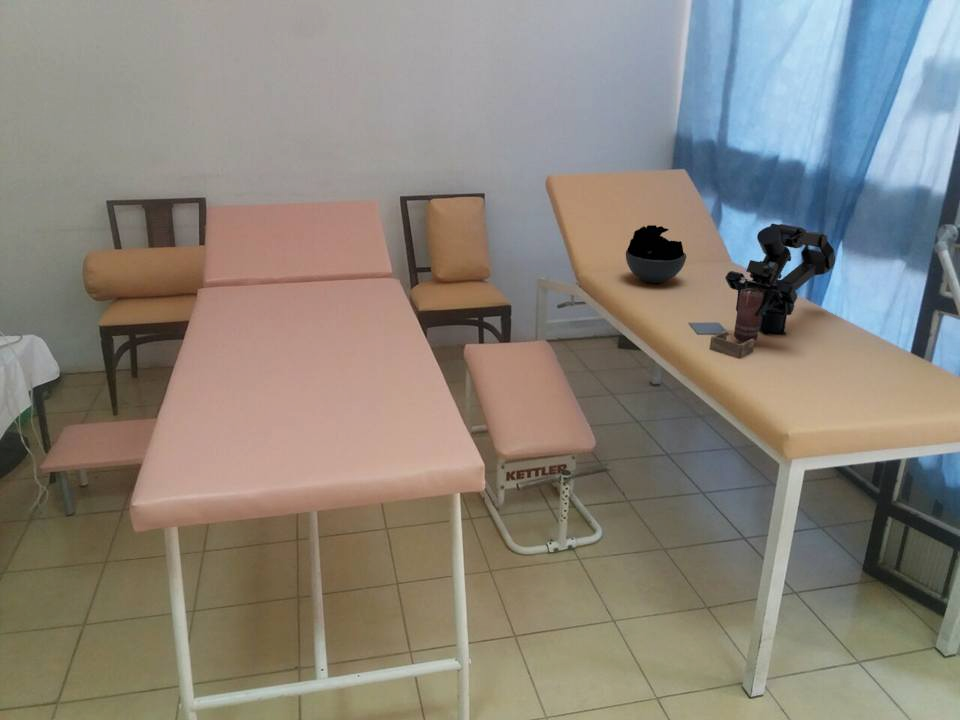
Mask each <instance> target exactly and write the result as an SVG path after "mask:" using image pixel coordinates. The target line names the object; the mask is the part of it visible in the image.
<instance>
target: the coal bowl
mask: <svg viewBox="0 0 960 720" xmlns="http://www.w3.org/2000/svg"><path fill="white" fill-rule="evenodd" d="M668 231H670V229H669V228H666V227H665V228H664V226H657V224H656V225H655V224H654V225H653V224H652V225H650V224H647V225H646V226H644V225H643V226H641V227H640V228H639V229H637V230H634V232H633V236H632V238H631V239H630V241H629V244H628V247H627V249H626V251H625V260H626V264H627V266H628V268H629V270H630V271H631V273H632V274H633V275H634V276H635V277H636V278H638V279H640V280H642V281H644V282H646V283H650V284H661V283H664V282H667V281H669V280H671V279H673V278H675V276H677V275H678V274H679V272H681V271H682V269H683V267H684V265H685V263H686V260H687V254H686V252H684V248H683V247H684V246H683V243H682V241H677V240H669V239H667V238H666V237H664V236H661V235H663V233H665V232H668Z"/></svg>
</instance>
